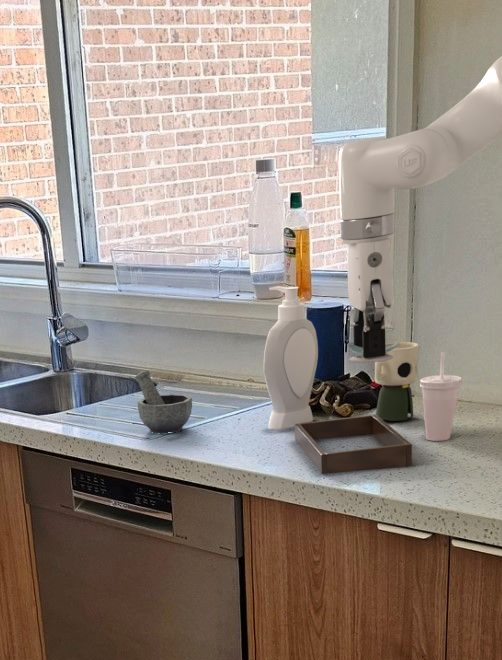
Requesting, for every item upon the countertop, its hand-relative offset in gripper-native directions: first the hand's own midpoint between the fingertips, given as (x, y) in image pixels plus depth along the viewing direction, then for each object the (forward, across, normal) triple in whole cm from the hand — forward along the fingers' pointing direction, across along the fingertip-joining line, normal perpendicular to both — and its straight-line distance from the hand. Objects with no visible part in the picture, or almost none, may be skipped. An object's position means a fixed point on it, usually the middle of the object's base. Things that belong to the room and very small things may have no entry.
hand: (369, 352), depth 187 cm
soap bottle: (+17, +30, +8) cm, 36 cm away
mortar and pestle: (+16, +33, +30) cm, 48 cm away
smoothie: (+17, +10, -13) cm, 24 cm away
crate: (+17, +6, +2) cm, 18 cm away
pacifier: (+1, -1, 0) cm, 2 cm away
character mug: (+17, +26, -10) cm, 32 cm away
